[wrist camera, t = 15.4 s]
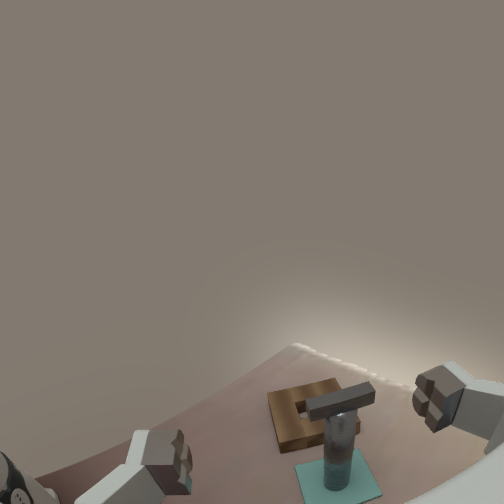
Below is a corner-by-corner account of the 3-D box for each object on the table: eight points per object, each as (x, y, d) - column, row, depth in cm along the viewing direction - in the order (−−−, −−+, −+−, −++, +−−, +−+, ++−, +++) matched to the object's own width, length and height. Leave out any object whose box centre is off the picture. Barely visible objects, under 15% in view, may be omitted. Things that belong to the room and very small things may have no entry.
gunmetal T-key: (314, 497, 28) (312, 416, 24) (308, 479, 32) (303, 393, 28) (364, 482, 29) (379, 395, 25) (355, 465, 32) (365, 376, 28)
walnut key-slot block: (280, 453, 38) (279, 442, 38) (268, 404, 51) (267, 392, 50) (359, 433, 39) (360, 421, 39) (334, 389, 52) (334, 377, 51)
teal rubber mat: (309, 518, 25) (309, 517, 25) (294, 467, 35) (294, 465, 35) (381, 495, 26) (382, 494, 26) (358, 450, 36) (358, 448, 36)
